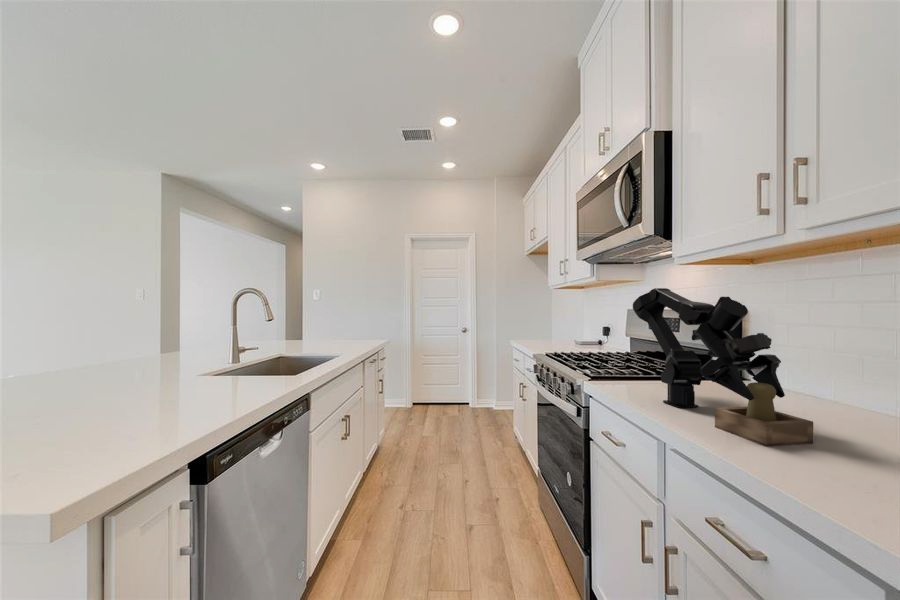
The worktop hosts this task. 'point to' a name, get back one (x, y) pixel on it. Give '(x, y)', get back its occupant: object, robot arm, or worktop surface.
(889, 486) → the worktop surface
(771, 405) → the cork
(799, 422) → the socket block
